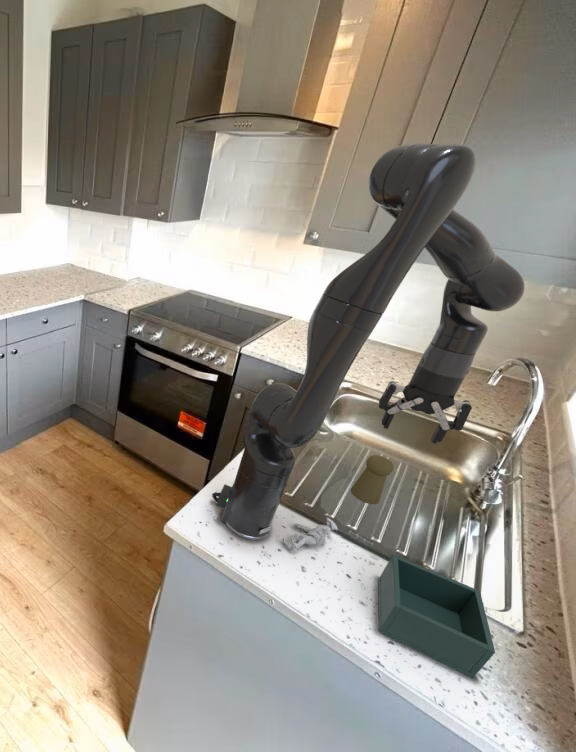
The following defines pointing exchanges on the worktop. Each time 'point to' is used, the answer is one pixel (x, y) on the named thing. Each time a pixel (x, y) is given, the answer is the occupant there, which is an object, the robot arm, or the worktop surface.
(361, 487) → the cork
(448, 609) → the tote
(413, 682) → the worktop surface
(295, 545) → the soldier figure
